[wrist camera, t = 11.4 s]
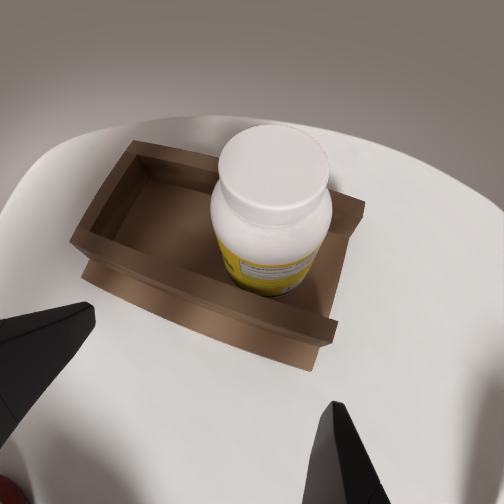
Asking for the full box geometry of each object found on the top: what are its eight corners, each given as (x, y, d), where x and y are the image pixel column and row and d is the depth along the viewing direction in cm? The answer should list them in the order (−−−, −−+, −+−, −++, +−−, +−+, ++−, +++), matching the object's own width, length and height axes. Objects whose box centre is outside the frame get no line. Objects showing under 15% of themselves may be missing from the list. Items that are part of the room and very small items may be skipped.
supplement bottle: (229, 220, 20) (212, 109, 11) (308, 225, 20) (342, 118, 11) (220, 297, 18) (185, 222, 9) (307, 303, 18) (359, 234, 9)
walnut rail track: (86, 280, 19) (58, 262, 16) (156, 156, 24) (143, 126, 20) (309, 371, 17) (322, 372, 13) (352, 212, 21) (368, 183, 18)
